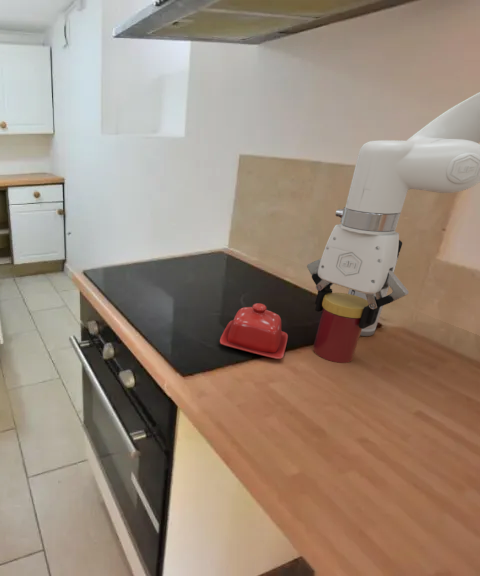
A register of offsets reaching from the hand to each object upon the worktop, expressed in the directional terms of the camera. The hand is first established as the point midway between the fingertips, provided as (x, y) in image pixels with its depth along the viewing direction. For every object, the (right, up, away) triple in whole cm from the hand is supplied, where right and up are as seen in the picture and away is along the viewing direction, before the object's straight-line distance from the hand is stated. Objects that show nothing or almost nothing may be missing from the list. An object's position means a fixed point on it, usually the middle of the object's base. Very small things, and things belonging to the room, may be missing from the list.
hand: (342, 317), depth 69 cm
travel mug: (+10, -4, +12) cm, 16 cm away
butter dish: (-14, -6, +6) cm, 16 cm away
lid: (0, +3, -1) cm, 3 cm away
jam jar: (0, -7, +3) cm, 8 cm away
